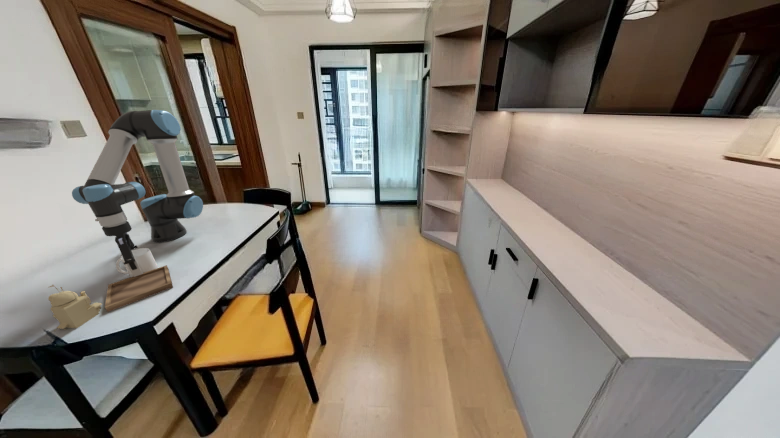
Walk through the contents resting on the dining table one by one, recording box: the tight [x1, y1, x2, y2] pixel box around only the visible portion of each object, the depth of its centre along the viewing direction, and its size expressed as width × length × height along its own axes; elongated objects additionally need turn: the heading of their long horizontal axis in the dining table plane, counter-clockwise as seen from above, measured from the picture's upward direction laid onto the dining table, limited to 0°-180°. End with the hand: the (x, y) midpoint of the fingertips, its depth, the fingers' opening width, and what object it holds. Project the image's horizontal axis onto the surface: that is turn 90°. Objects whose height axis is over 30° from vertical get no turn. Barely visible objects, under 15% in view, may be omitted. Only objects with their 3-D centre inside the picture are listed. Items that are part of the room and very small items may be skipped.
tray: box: [104, 265, 174, 313], centre depth 98 cm, size 18×18×2 cm
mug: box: [115, 247, 159, 277], centre depth 106 cm, size 12×9×9 cm
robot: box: [47, 284, 103, 332], centre depth 81 cm, size 10×8×15 cm
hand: (138, 268), depth 107 cm, fingers open, 13 cm apart
